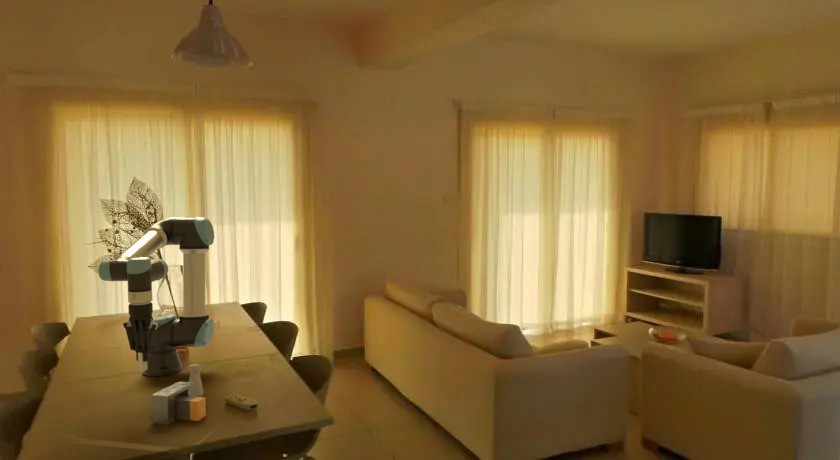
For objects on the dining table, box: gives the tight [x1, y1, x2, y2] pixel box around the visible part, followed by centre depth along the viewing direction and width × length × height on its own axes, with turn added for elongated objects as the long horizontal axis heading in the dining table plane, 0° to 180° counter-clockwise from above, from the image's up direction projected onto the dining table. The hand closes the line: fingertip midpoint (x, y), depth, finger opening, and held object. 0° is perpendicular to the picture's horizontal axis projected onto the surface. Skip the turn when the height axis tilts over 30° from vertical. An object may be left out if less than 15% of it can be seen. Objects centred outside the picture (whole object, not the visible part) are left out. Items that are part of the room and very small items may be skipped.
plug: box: [175, 395, 207, 422], centre depth 204 cm, size 17×4×6 cm, turn 77°
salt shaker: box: [188, 363, 204, 397], centre depth 222 cm, size 6×6×13 cm
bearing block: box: [150, 381, 195, 426], centre depth 205 cm, size 6×15×10 cm, turn 167°
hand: (143, 370), depth 207 cm, fingers closed
